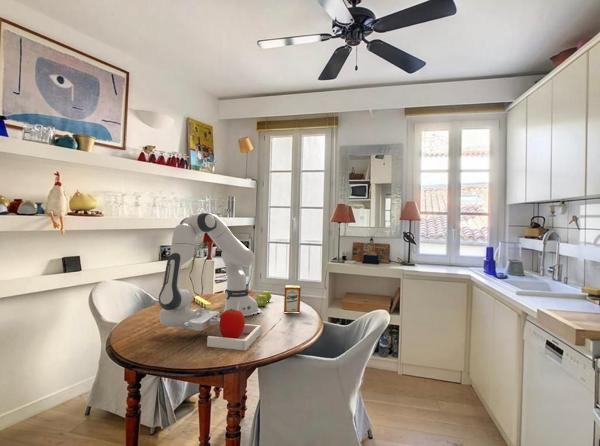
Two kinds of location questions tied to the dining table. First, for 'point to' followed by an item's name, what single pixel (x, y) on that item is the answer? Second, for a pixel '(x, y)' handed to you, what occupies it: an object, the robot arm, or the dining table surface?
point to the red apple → (232, 323)
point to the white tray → (236, 343)
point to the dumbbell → (263, 298)
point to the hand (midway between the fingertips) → (220, 321)
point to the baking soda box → (292, 298)
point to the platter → (202, 302)
